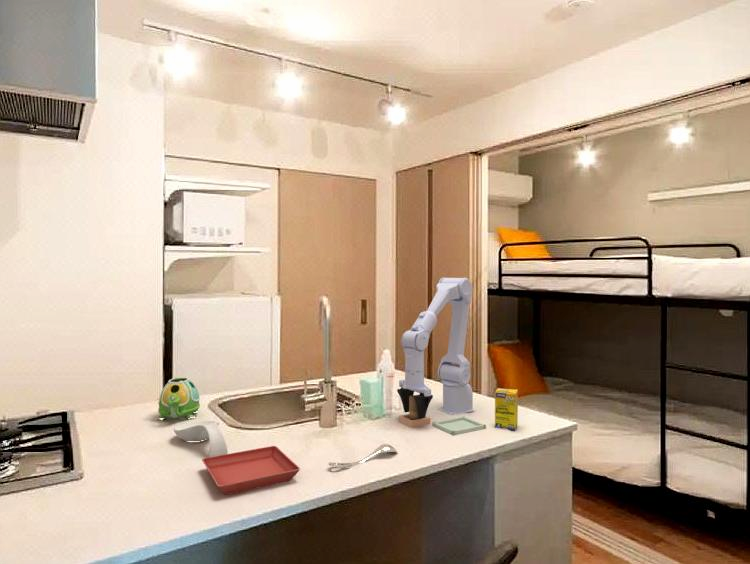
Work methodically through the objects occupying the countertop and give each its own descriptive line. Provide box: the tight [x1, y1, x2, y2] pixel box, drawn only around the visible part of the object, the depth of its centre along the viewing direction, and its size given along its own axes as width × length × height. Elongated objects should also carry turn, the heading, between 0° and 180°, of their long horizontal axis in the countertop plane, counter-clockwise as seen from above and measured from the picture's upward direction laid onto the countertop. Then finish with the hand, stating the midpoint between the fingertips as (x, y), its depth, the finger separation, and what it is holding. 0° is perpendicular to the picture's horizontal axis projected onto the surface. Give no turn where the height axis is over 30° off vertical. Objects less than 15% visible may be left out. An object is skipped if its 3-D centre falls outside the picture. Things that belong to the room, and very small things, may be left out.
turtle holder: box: [157, 377, 201, 419], centre depth 160 cm, size 12×18×12 cm
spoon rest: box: [173, 420, 229, 458], centre depth 137 cm, size 24×12×7 cm, turn 38°
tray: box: [432, 416, 487, 436], centre depth 149 cm, size 12×10×1 cm
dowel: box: [408, 394, 419, 420], centre depth 154 cm, size 3×3×8 cm
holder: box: [398, 413, 431, 428], centre depth 154 cm, size 7×7×2 cm
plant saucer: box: [201, 445, 301, 495], centre depth 116 cm, size 18×18×3 cm
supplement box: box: [494, 387, 519, 432], centre depth 151 cm, size 6×6×11 cm
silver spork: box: [328, 443, 399, 469], centre depth 124 cm, size 20×4×5 cm
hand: (414, 414), depth 154 cm, fingers open, 7 cm apart
